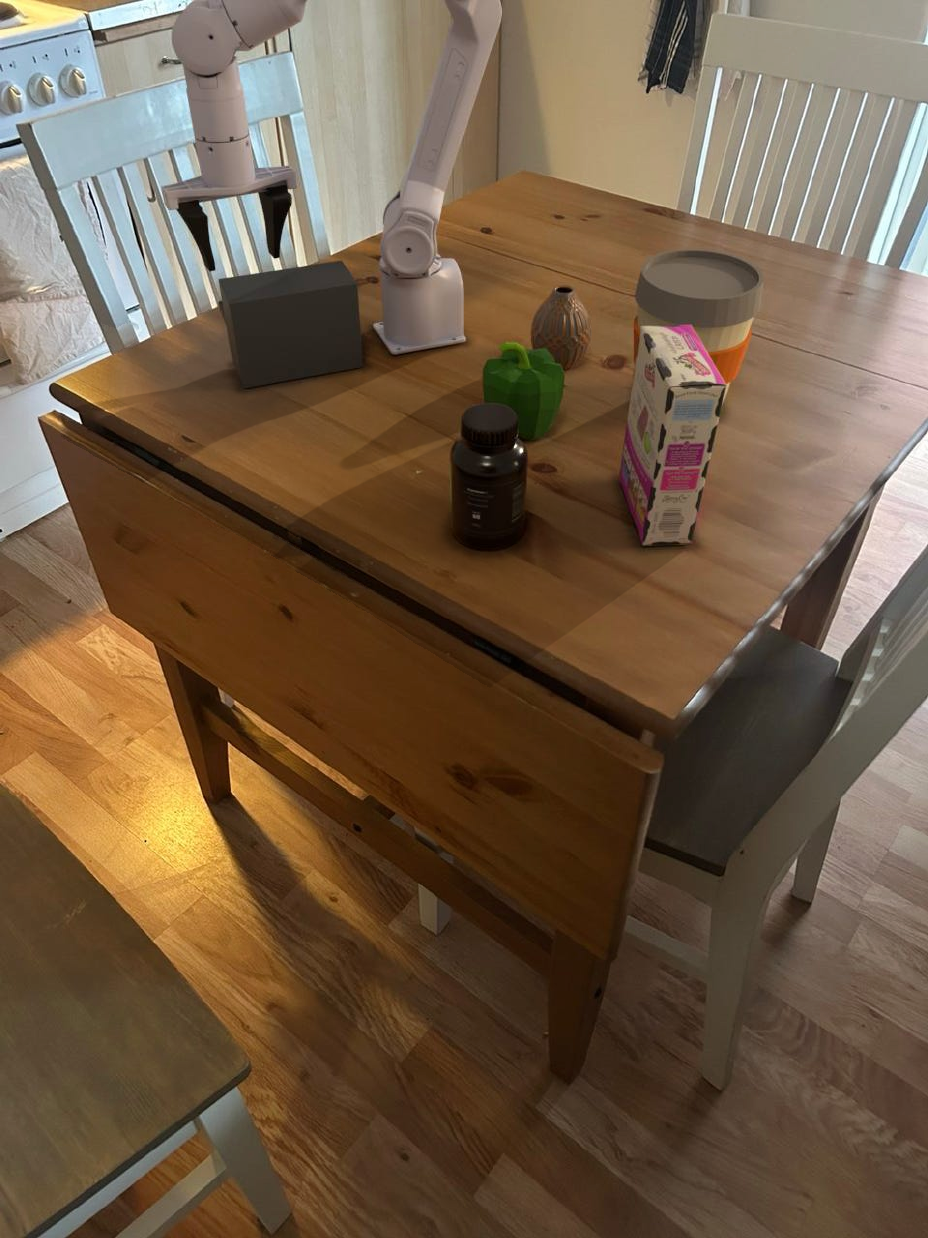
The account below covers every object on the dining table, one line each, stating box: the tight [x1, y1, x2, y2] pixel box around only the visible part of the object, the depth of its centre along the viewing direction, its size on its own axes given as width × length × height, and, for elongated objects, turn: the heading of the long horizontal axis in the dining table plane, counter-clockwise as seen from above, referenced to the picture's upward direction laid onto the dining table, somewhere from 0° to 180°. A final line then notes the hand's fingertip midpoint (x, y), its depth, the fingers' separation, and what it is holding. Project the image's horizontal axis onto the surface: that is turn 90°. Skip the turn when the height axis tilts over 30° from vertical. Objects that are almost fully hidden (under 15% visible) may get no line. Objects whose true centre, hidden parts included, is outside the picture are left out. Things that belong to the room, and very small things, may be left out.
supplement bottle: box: [449, 402, 529, 551], centre depth 85 cm, size 7×7×12 cm
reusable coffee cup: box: [633, 248, 764, 405], centre depth 100 cm, size 13×13×15 cm
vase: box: [530, 284, 592, 370], centre depth 110 cm, size 7×7×9 cm
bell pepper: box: [482, 341, 566, 441], centre depth 99 cm, size 8×8×10 cm
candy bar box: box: [618, 325, 727, 547], centre depth 86 cm, size 11×5×16 cm, turn 5°
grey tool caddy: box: [217, 260, 364, 389], centre depth 109 cm, size 10×14×11 cm
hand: (242, 261), depth 110 cm, fingers open, 7 cm apart
